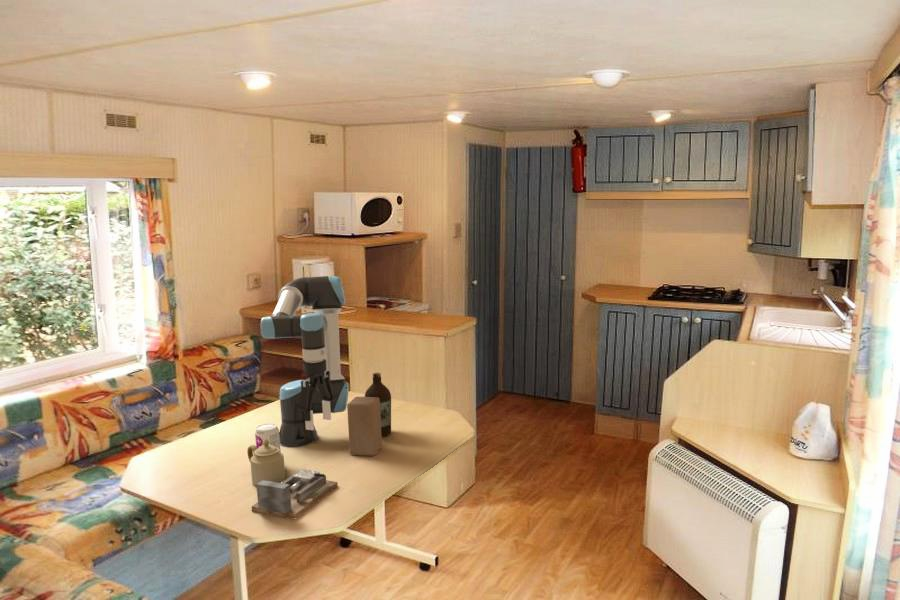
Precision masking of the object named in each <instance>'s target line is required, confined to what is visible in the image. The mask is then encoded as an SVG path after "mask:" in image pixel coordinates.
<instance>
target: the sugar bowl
mask: <svg viewBox="0 0 900 600" xmlns="http://www.w3.org/2000/svg"><path fill="white" fill-rule="evenodd" d="M263 444H264V446H261V447H259V448H257V447H256V444H250V445H249V446H248V448H247V457H248V460H249V463H250V472H251V474H250V475H251V482H252V485H253V484H254V485H253V486H255V487H257V485H256V484H257V483H259V482H260V481H262V480H265V481H271V482H277V483H281V482H283V481H285V480H286V475H285V474H286V473H285V471H286V470H285V469H286V468H285V457H284V453H282V452H278V451H279V448H278V447H275V446H273V445H268V444H269V441H268V440H267V439H265V440H264V441H263ZM284 479H285V480H284Z"/></svg>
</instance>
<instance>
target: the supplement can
mask: <svg viewBox="0 0 900 600" xmlns="http://www.w3.org/2000/svg"><path fill="white" fill-rule="evenodd" d="M279 432H280V428H278V425H277V424H275V423H264V424H261V425H258V426H257V427H256V430H255V432H254V435H255V438H254V439H255V446H256V447H257V448H259V447H261V446H264V444H263V441H264V440H265V439H267V440H268V441H269V444H268V445H273V446H275V447H278V448H279V451H278V452H281V450H282V449H281V444H280V437H279ZM281 453H282V452H281Z"/></svg>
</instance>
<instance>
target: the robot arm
mask: <svg viewBox="0 0 900 600" xmlns="http://www.w3.org/2000/svg"><path fill="white" fill-rule="evenodd" d="M342 281H343V280H342V279H341V277H339V276H338V275H337V276H335V275H334V276H333V275H325V276H323V275H322V276H309V277H308V276H302V277H299V278H295V279H294V280H291V281H289V282H288V283H286V284H285V285H283V287H282V288H281V289H280V290H279V292H278V296H277V304H276V305H275V308H274V310H273V312H272V314H271V315H269V316H264V317H261V320H260V334H261V337H262V338H263V339H273V340H274V339H285V338H286V339H287V338H301V345H302V346H301V348H302V349H301V350H302V360H303V363H302V364H303V365H302V366H303V367H302V369H303V372H304V373H305V374H306V379H297V380H293V381H289V382H287V383H285V384H283V385H282V386H281V387H280V389H279V398H278V399H279V402H280V415H281V418H280V419H281V425H280V428H279V437H280V446H281V445H282V446H284V447H301V446H307V445H309V444H312V443H314V442H316V441H317V439H318V432H317V429H316V427H315V426H316V425H315V421H314V415H319V414H322V419H323V420H327V421H331V420H332V414H336V413H343V412H345V411H346V410H347V405H348V403H349V402H348V400H349V390H350V389H349V388H350V387H349V386H350V385H349V382H347V381H346V378H345V377H344V376H343V374H342V372H341V349H340V348H341V347H340V327H339V325H340V323H339V314H340V312H341V311H342V310H343V306H345V305H346V297H345V295H346V294H345V290H344V286H343V282H342ZM300 307H311V309H312V312H307V313H303V314H300V315H299V314H298V315H297V310H298V309H299V308H300Z"/></svg>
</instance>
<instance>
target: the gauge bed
mask: <svg viewBox="0 0 900 600" xmlns="http://www.w3.org/2000/svg"><path fill="white" fill-rule="evenodd" d="M299 471H300V470H298V471H297V472H299ZM297 472H295V473H294V474H296V473H297ZM294 474H292V475H291V476H288V478H287V479H286V478H285V480H284V481H283V482H282V483H277V482H271V481H265V480H262V481H260V482H259V483H257V484H256V485H257V486H256V493H257V494H256V495H257V502H255V504H253V505H251V512H255V511H257V512H256V513H260V512H261V513H262V514H266V515H271V514H272V516H276V515H278V516H277V517H282V516H283V517H282V518H287V517H288V518H287V519H292V518H293V520H296V519H297V518H299V517H300V516H301V515H302V514H304V513H305V512H306V511H307V510H309V509H310V508H312V507H313V506H314V505H315V504H317V503H318V502H319V501H320V500H322V499H323V498H325V497H326V496H327V495H328V494H330V493H331V492H332V491H334V488H335V489H336V488H337V487H339V486H338V481H334V480H327V476H326V474H325V476H324V477H321V476H320V477H318V478H317V479H315V480H314V481H313V482H311V483H310V484H308V485H307V486H306V487H304V488H303V489H298V490H296V491H295V492H294V493H291V492H290V487H291V486H292V476H293V475H294ZM325 495H326V496H325ZM322 497H323V498H322ZM321 498H322V499H321ZM318 500H319V501H318ZM317 501H318V502H317ZM313 504H314V505H313ZM312 505H313V506H312ZM308 508H309V509H308ZM261 513H260V514H261ZM267 513H268V514H267ZM299 515H300V516H299ZM295 518H296V519H295Z"/></svg>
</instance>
